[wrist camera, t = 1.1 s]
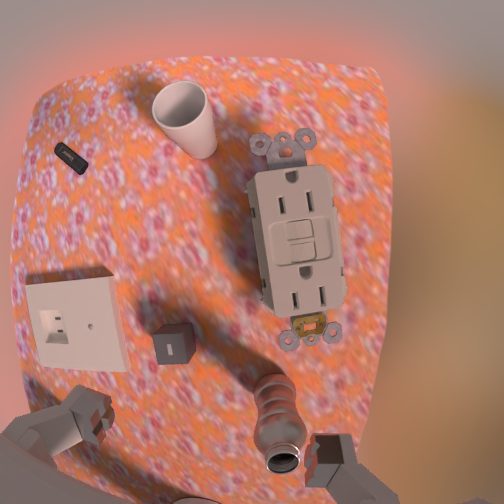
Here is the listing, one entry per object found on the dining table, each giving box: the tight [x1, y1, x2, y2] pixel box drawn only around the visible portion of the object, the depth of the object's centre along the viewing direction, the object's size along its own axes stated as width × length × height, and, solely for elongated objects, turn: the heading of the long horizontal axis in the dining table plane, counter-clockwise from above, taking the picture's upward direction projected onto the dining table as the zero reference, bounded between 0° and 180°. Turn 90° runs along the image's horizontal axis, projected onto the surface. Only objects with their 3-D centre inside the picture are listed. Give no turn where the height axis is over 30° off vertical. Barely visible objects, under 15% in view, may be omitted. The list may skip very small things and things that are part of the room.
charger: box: [152, 323, 196, 365], centre depth 43 cm, size 5×5×6 cm
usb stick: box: [54, 143, 88, 175], centre depth 45 cm, size 10×3×2 cm, turn 54°
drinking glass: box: [152, 81, 218, 159], centre depth 38 cm, size 7×7×15 cm
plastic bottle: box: [254, 374, 307, 474], centre depth 36 cm, size 6×7×20 cm
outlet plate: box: [25, 276, 131, 372], centre depth 45 cm, size 16×20×2 cm
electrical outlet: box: [244, 128, 349, 352], centre depth 41 cm, size 12×28×10 cm, turn 9°
